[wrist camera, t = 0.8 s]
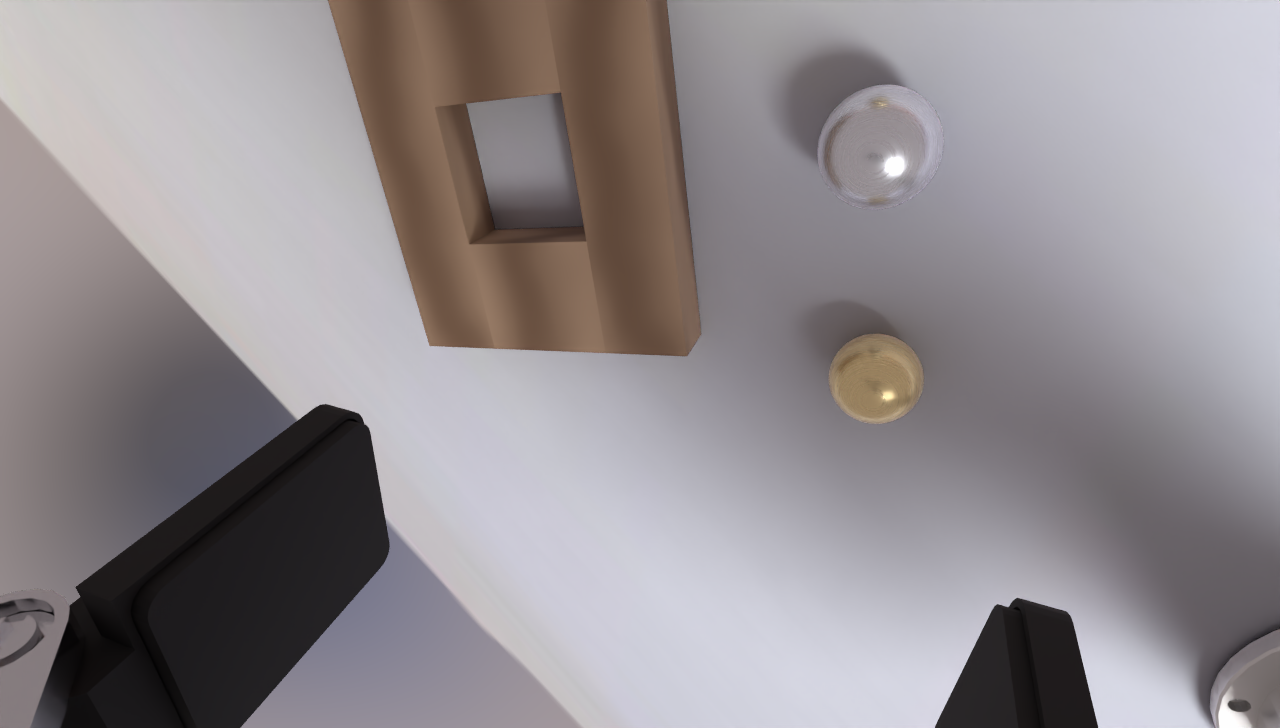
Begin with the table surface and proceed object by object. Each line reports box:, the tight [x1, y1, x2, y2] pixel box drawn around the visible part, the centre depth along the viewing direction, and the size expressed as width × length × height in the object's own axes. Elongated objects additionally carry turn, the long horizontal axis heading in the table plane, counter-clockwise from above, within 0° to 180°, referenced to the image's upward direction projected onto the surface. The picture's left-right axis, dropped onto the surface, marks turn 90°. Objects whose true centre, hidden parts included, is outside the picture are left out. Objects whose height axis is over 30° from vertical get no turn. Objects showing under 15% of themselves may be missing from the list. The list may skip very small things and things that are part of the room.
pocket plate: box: [328, 0, 701, 356], centre depth 33 cm, size 15×18×2 cm
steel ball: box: [817, 84, 944, 210], centre depth 26 cm, size 4×4×4 cm
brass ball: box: [829, 334, 924, 424], centre depth 31 cm, size 4×4×4 cm
